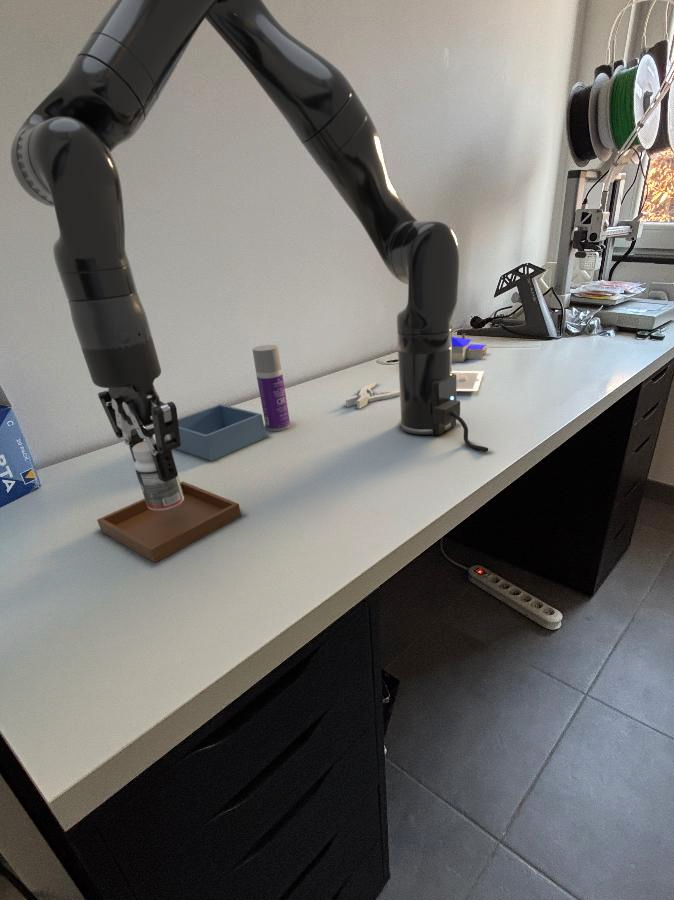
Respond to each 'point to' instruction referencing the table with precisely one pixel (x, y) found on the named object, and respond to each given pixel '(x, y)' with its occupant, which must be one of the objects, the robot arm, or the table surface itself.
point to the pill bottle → (155, 481)
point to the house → (466, 349)
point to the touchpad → (468, 380)
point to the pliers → (365, 397)
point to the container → (271, 387)
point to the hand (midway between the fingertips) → (157, 473)
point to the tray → (169, 522)
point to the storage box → (219, 431)
